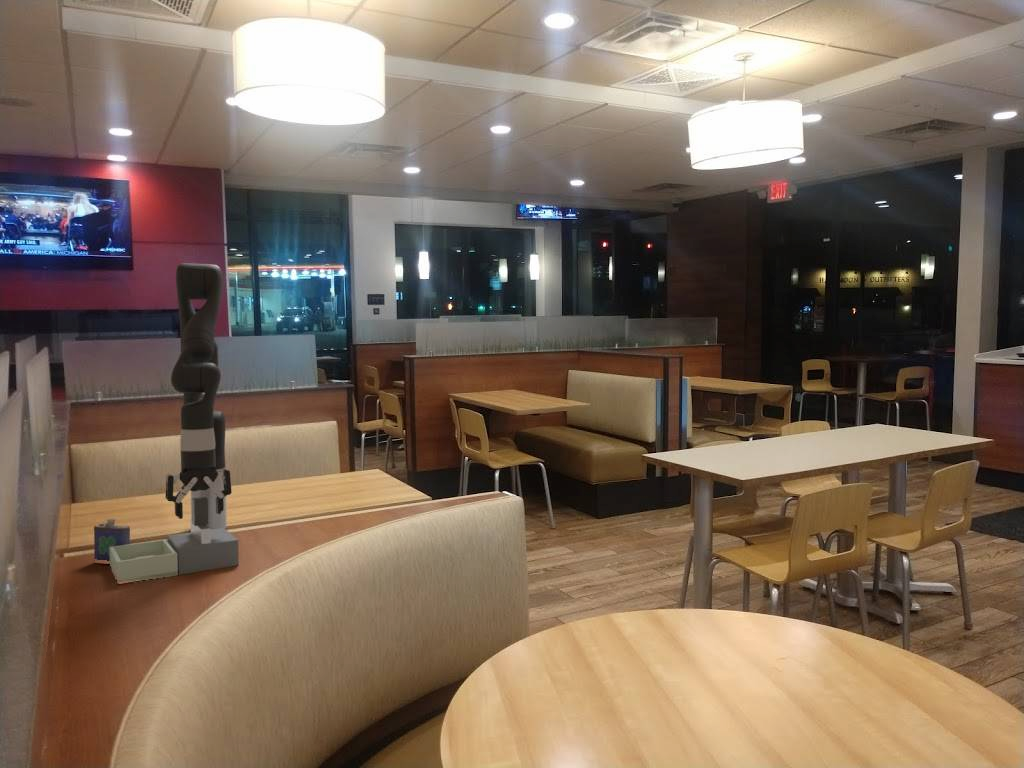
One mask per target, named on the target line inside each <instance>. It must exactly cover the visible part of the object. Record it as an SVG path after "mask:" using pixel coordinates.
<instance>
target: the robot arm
mask: <svg viewBox="0 0 1024 768" xmlns="http://www.w3.org/2000/svg"><path fill="white" fill-rule="evenodd" d="M175 283H176V285H175V286H176V296H177V303H178V313H179V323H180V324H179V325H180V354H179V356H178V359H177V361H176V362H175V364H174V366H173V369H172V372H171V375H170V376H171V377H170V381H171V385H172V387H173V388H174V390H175V391H176V392H177V393H182V394H183V405H182V406H181V409H180V422H181V424H180V438H179V439H180V442H179V443H180V445H179V446H180V473H179V474H170V473H168V474H167V475H166V476H165V499H166V500H167V501H168V502H173V503H174V515H175V517H177V518H178V519H179V520H181V519H183V518H184V515H183V514H184V511H183V505H184V504H183V502H182V501H183V500H184V498H185V497H186V496H187V495H188V494H189V492H190V520H191V519H192V498H199V497H206V498H207V499H208V524H206V525H207V526H208V527H210V530H213V529H220V528H225V529H227V527H228V526H227V496H230V495H232V481H231V480H232V479H231V471H230V470H228V469H226V451H225V448H226V417H225V414H224V413H223V411H220V410H214V408H215V401H216V396H217V392H218V389H219V387H220V383H221V376H222V375H221V370H220V368H219V347H218V343H217V342H216V340H215V331H216V325H217V320H218V316H219V310H220V306H221V302H222V295H223V291H224V290H223V289H224V279H223V272H222V269H221V267H220V266H218V265H217V264H210V263H191V262H190V263H187V262H183V263H180V264H178V266H176V271H175ZM192 300H196V301H197V300H199V301H200V300H201V301H206V302H205V303H204V304H203V305H202V307H201V308H200V309H199V310H198V311H197V312H196V310H195V308H194V305H193V301H192ZM203 394H204V395H203ZM202 396H203V397H202ZM201 397H202V399H201ZM178 480H179V481H181V483H182V485H181V487H180V488H179V490H178V491H177V493H176V494H175V495H174V485H176V484H177V483H178Z"/></svg>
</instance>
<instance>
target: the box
mask: <svg viewBox="0 0 1024 768" xmlns="http://www.w3.org/2000/svg"><path fill="white" fill-rule="evenodd" d="M109 550H110V565H109V567H110V566H111V568H112V570H113V573H114V575H115V577H116V580H117V582H123V581H135V580H146V581H150V580H149V579H153V580H157V579H156V578H159V579H164V578H163V577H165V578H170V577H171V576H172V577H178V576H179V574H178V559H177V552H176V551H175V550H174V549H173V548H172V546H171V545H170V544H169V543H168V539H157V540H149V541H143V542H135V543H130V544H127V545H119V546H112V547H109ZM148 555H154V556H150V557H143V558H136V559H135V557H141V556H148ZM177 575H178V576H177ZM116 580H115V581H116ZM117 582H116V583H117Z"/></svg>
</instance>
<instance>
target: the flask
mask: <svg viewBox="0 0 1024 768" xmlns="http://www.w3.org/2000/svg"><path fill="white" fill-rule="evenodd" d="M115 522H116V518H106V523H105V522H102V523H99V524H95V525H94V527H93V531H94V532H93V539H94V547H93V550H94V551H93V552H94V554H93V555H94V560H95V559H97V560H107V561H110V550H109V547H112V546H119V545H127V544H131V535H130V534H131V527H130V525H115Z"/></svg>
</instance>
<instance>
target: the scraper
mask: <svg viewBox="0 0 1024 768" xmlns="http://www.w3.org/2000/svg"><path fill="white" fill-rule="evenodd" d="M206 524H208V499H207V498H206V497H199V498H192V519H191V518H190V532H191V535H192V536H193V537H194V538H195V539H196V540H197V541H198V542H199V543H200V544H201V545H203V544H210V543H211V531H210V527H208V526H207V525H206Z"/></svg>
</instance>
